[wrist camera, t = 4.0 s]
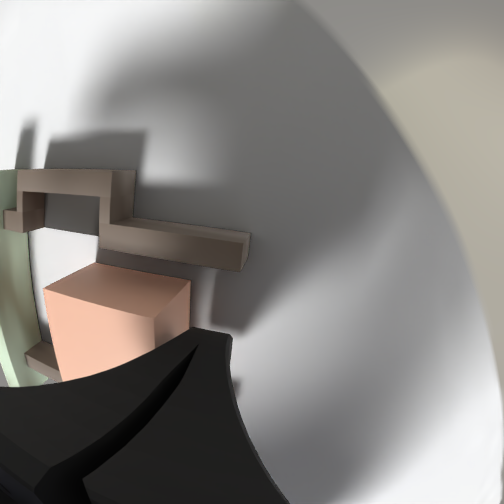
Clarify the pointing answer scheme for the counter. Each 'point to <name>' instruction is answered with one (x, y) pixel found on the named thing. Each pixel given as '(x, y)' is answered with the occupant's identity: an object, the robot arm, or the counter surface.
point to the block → (112, 316)
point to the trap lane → (86, 222)
